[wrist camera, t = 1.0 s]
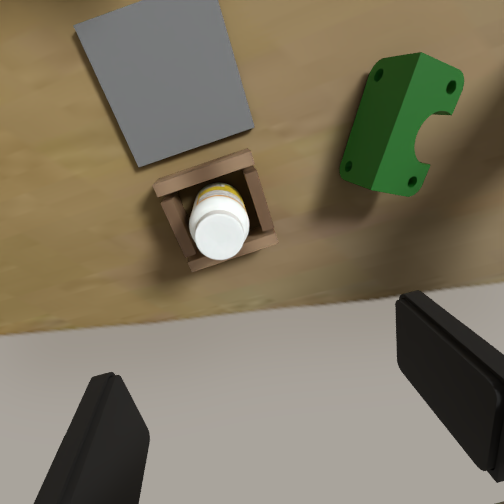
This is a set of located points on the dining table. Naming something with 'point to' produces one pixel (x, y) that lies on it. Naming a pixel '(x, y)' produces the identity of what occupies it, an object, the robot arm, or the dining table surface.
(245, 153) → the frame
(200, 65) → the rubber mat
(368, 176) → the clamp
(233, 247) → the supplement bottle
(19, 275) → the dining table surface
